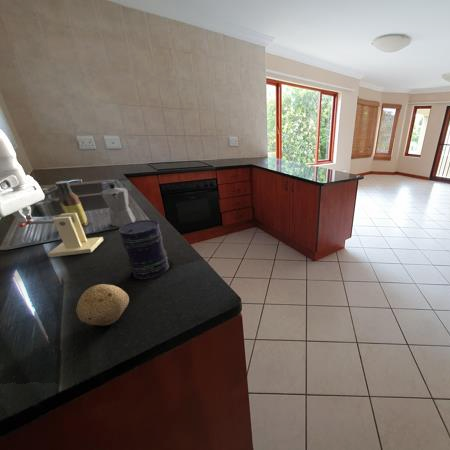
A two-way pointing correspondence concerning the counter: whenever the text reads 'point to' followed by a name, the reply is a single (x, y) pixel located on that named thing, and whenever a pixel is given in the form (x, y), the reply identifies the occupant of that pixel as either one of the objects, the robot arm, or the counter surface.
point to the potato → (102, 304)
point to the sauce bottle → (70, 202)
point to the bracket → (72, 237)
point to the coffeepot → (118, 206)
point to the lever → (40, 221)
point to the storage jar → (144, 248)
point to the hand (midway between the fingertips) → (26, 220)
